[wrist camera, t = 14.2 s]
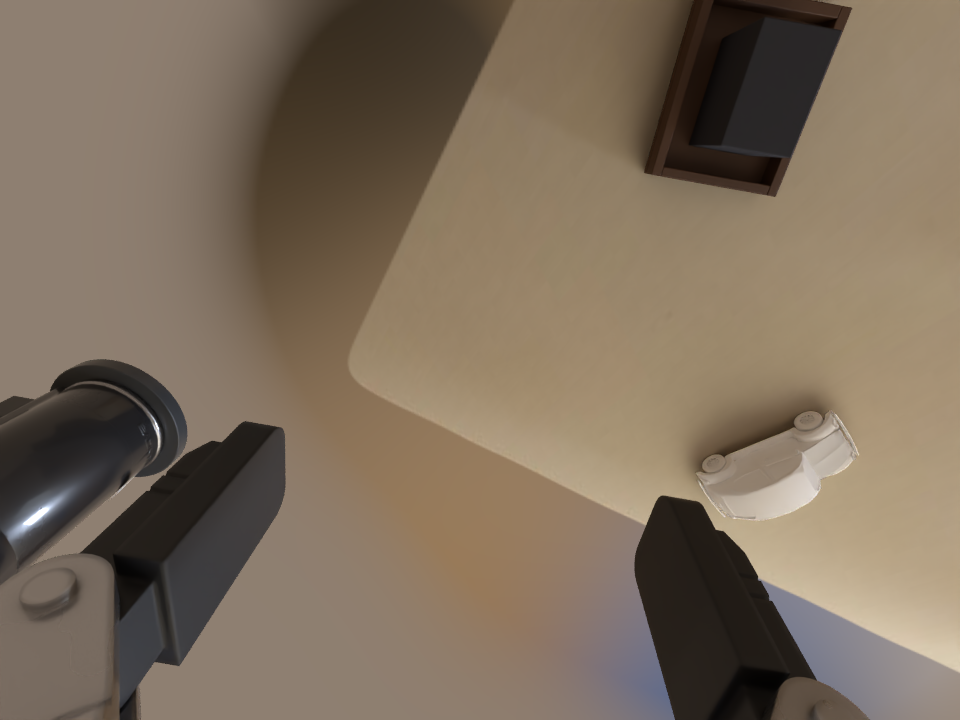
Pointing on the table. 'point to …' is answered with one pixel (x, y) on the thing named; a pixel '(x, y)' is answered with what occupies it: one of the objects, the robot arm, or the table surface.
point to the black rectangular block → (763, 87)
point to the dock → (714, 15)
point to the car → (778, 469)
